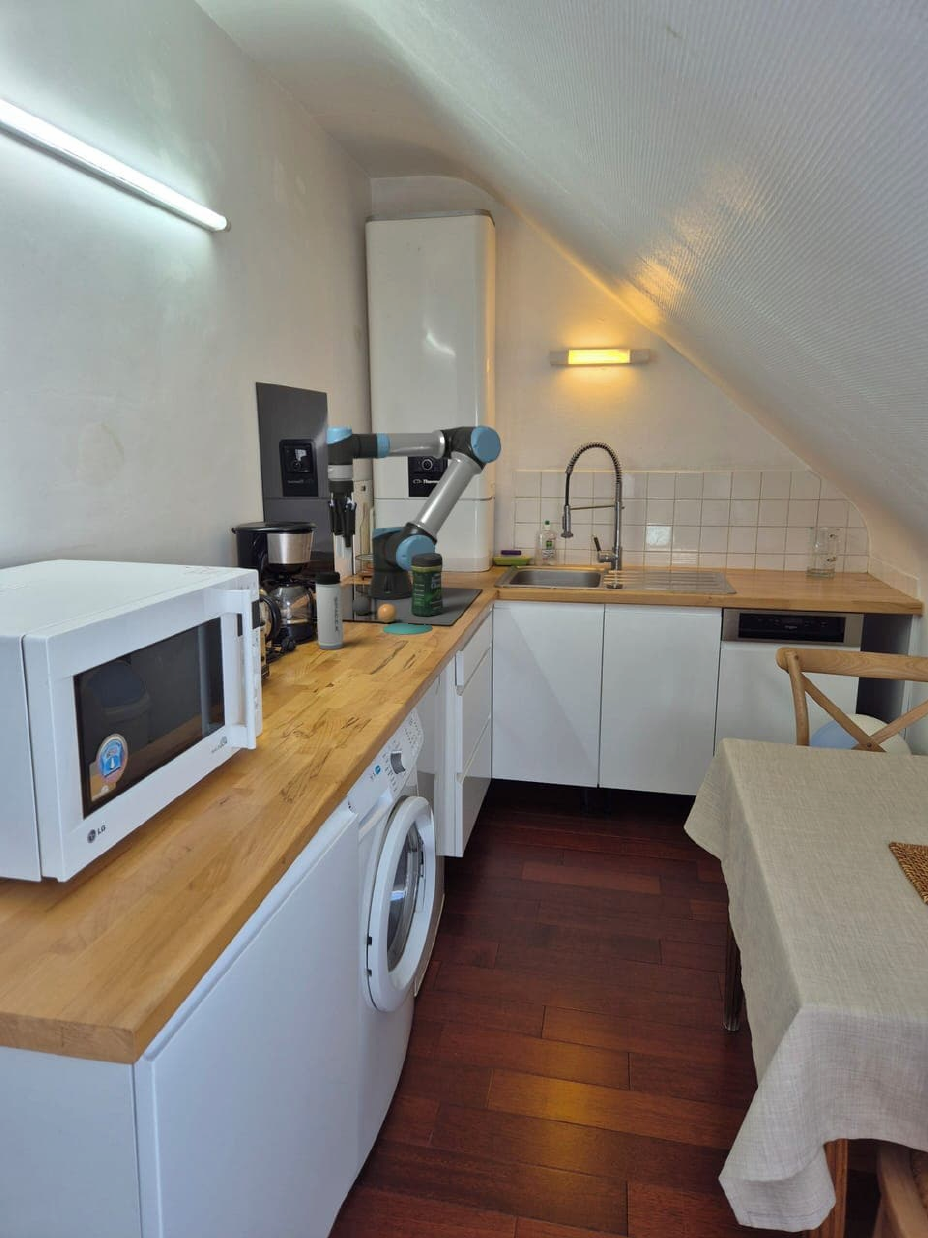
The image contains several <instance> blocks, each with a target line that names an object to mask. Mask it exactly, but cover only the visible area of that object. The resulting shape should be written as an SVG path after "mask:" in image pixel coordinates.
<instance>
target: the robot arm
mask: <svg viewBox="0 0 928 1238" xmlns="http://www.w3.org/2000/svg"><path fill="white" fill-rule="evenodd" d="M325 444H326V455H327V456H326V457H327V473H328V475H327V476H328V479H330V480H329V481H328V483H327V484H328V493H330V494H332V496H331V497H332V498H331V500H327V506H328V507H327V508H328V512H329V513H328V515H329V524H330V527H329V528H330V533H331V534H332V533H333V535H334V536H335V552H336V553H335V554H336V555H335V556H336V558H342V559H351V558H352V536H354V535H356V526H357V525H356V519H357V517H356V512H357V511H356V510H357V507H358V504H357V502H353V500H352V497H351V494H352V493H354V492H355V485H354V480H353V479H354V460H358V459H359V460H362V459H363V460H373V459H376V460H379V459H386V458H400V457H401V458H402V457H405V458H406V457H407V458H408V457H433V458H435V459H437V460H438V459H439V460H441V459H442V460H443V459H444V460H451V462H450V463H449V465H448V466H447V468H446V469H445V471H444V472H443V475H442V476H441V477H440V479H439V481H438V482H437V483H436V486H435V487H434V488H433V490H432V492H431V493H430V494H429V496H428V498H427V499H426V501H425V503H424V504H423V506H422V507H421V509H420V510H419V512H418V513H417V515H416V517H415V518H414V519H413V520H409V521H407V522H406V523H405V525H403V526H393V527H391V526H390V527H380V528H375V529H373V530H372V534H371V543H372V544H371V545H372V546H371V550H372V569H373V570H372V577H371V580H370V583H369V584H370V585H369V587H368V597H370V598H372V599H379V600H399V599H406V598H412V588H413V582H412V580H411V577H410V575H409V572H412V569H411V560H412V557H413V556H414V555H418V554H423V553H436V551H435V550H436V545H437V544H438V542H439V540H438V537H437V536H438V535H437V534H438V533H439V531H440V529H442V527H443V525H444V523H445V521H447V519H448V517H449V515H450V514H451V513H452V511H453V509H454V508H455V506H456V505H457V503H458V501H459V500H460V498H461V497H462V494H464V491H466V489H467V487H468V485H469V483H470V482H471V481H472V479H473V478H474V476H476V475H480V474H481V473H482V472H483V470H484V469H485V467H486V466H487V464H491V463H493V462H495V461H497V459H498V458H499V457H500V455H501V451H502V443H501V438H500V436H499V434H498V432H497V431H496V430H495V429H494V428H492V427H490V426H486V425H476V426H475V425H474V426H470V425H467V426H456V427H453V428H452V427H451V428H445V429H444V428H443V429H435V430H433V431H432V432H403V433H401V432H399V433H397V432H393V433H391V432H389V433H377V432H376V433H375V432H373V433H355V432H354V433H353V429H352V428H351V426H329V427H328V428H327V429H326V442H325Z"/></svg>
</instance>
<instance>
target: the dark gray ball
mask: <svg viewBox="0 0 928 1238" xmlns="http://www.w3.org/2000/svg"><path fill="white" fill-rule="evenodd" d="M351 609H352V610H353V611H352V612H354V613H355V614H356V615H359V616H360V615H361V616H364V615H366V614H368V613H369V611H370V610H371V602H370V600H369V599H368V598H367V597H365V596H358V597H356V598H354V600H353V601H352V604H351Z"/></svg>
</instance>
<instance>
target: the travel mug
mask: <svg viewBox="0 0 928 1238" xmlns="http://www.w3.org/2000/svg"><path fill="white" fill-rule="evenodd" d="M313 574H315V592H316V593H315V594H316V598H315V599H316V617H317V618H316V619H317V637H318V638H317V640H318V648H319V649H320V650H324V651H329V650H330V651H332V650H333V651H334V650H339V649H342V648H343V647H344V631H343V630H344V629H343V626H344V625H343V607H342V606H343V604H342V584H341V583H342V582H341V574H340V572H338V571H335V570H328V569H314V570H313Z"/></svg>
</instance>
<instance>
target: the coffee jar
mask: <svg viewBox="0 0 928 1238" xmlns="http://www.w3.org/2000/svg"><path fill="white" fill-rule="evenodd" d="M443 566H444V564H443V556H442V555H441V553H437V552H435V553H423V554H418V555H414V556H413V557H412V560H411V569H412V571H411V572H412V586H413V588H412V596H411V608H410V609H411V612H410V613H411V614H412V615H414V614H415V615H414V616H416V615H419V616H418V617H424V616H425V617H431V615H433V616H436V615H440V614H442V613H443V612H444V604H443V603H444V602H443V601H444V600H443V591H442V590H443V589H442V573H443V572H442V571H443Z"/></svg>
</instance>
